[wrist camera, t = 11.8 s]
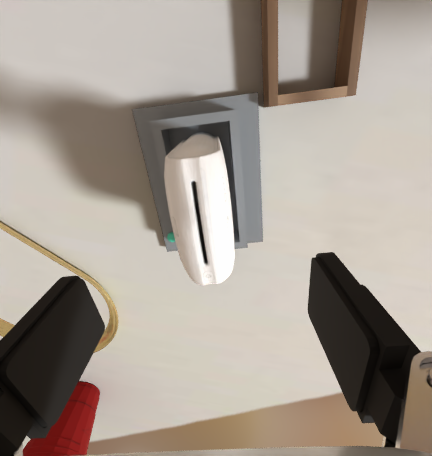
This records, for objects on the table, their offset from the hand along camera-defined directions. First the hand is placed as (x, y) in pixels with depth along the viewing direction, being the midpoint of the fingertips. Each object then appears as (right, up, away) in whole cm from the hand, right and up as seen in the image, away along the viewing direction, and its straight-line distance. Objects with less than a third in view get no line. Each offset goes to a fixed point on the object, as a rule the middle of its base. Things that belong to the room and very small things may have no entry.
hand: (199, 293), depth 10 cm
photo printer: (0, +8, +16) cm, 18 cm away
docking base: (0, +8, +17) cm, 18 cm away
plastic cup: (-24, -28, +34) cm, 50 cm away
